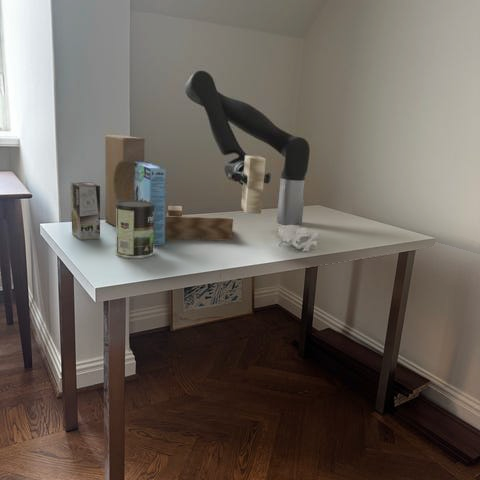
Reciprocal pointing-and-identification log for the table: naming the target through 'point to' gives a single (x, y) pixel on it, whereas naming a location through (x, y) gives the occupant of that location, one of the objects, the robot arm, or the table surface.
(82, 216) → the coffee box
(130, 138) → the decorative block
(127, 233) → the coffee can
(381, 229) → the table surface
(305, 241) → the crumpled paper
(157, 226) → the light blue carton
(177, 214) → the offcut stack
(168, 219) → the brown wooden block
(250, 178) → the light wooden block
